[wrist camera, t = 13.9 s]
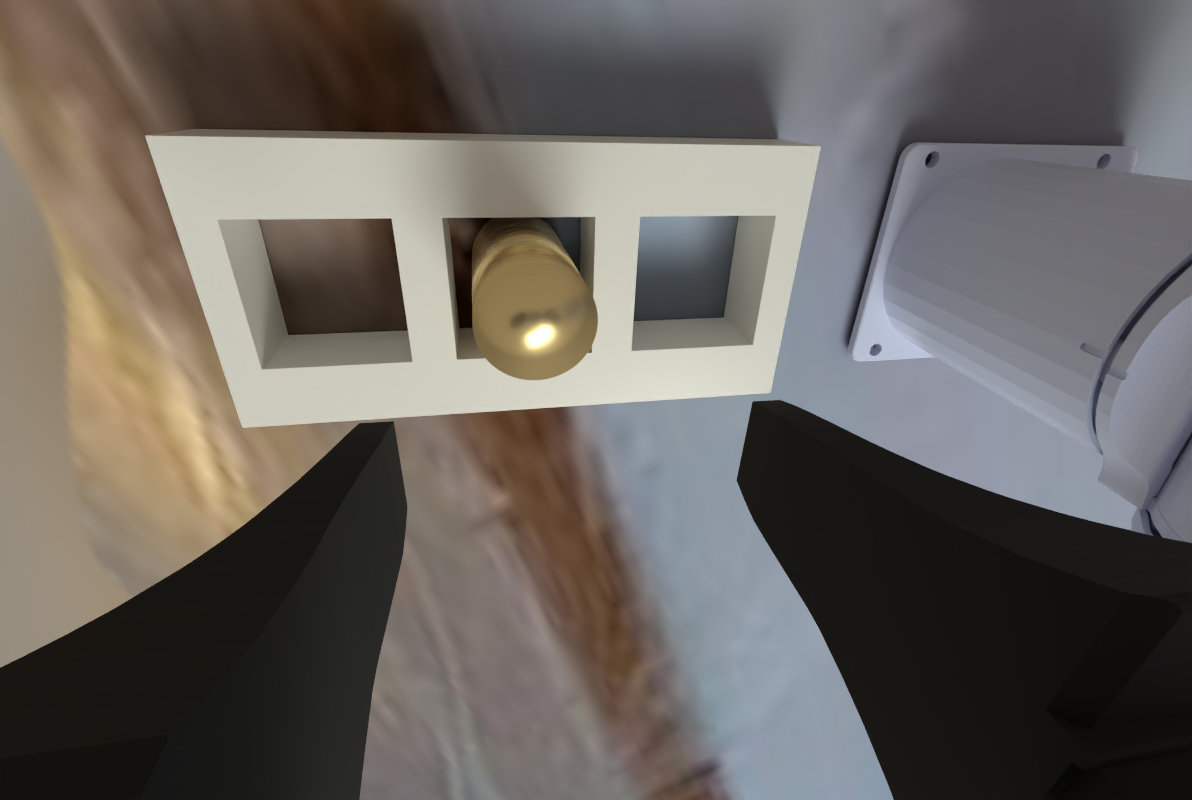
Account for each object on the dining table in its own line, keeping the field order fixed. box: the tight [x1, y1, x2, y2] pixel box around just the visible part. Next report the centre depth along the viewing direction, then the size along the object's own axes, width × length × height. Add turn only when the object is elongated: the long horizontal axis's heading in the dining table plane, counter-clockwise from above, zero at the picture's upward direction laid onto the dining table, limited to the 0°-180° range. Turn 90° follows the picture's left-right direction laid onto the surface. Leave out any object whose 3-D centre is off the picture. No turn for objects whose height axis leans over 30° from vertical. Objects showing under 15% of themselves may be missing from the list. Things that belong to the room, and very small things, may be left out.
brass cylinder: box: [472, 217, 598, 380], centre depth 16 cm, size 3×3×6 cm
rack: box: [145, 129, 821, 428], centre depth 17 cm, size 17×8×3 cm, turn 88°
